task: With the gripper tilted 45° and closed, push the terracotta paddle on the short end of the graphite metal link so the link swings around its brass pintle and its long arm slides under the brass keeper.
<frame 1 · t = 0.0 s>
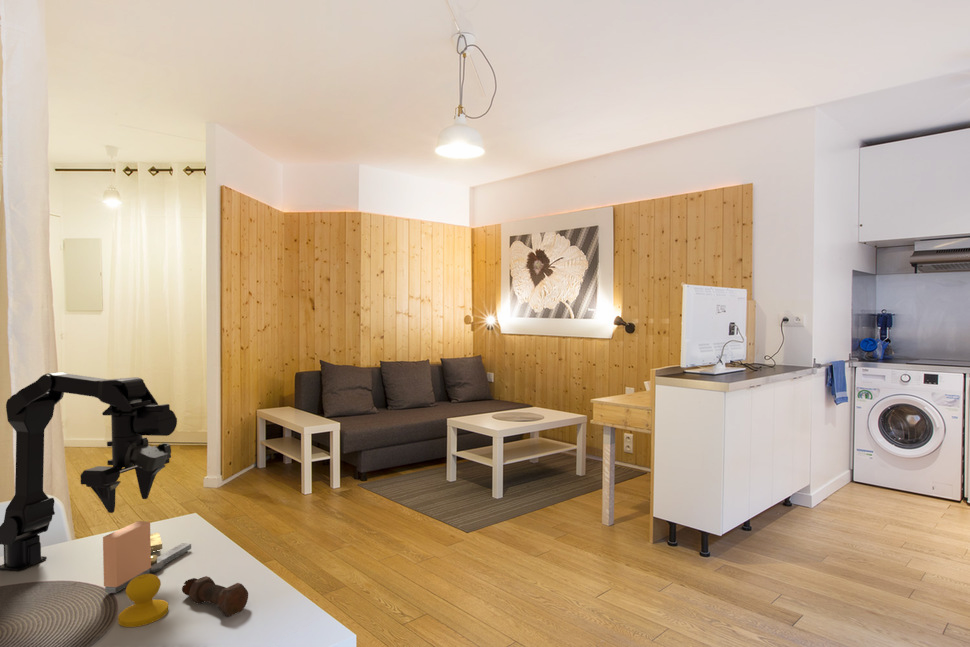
hand: (128, 505, 122), 15 cm above the table, tool pointing down, fingers open, 9 cm apart
bolt: (212, 605, 108), on the table
doorknob: (144, 616, 103), on the table
link: (151, 543, 122), point 6 cm above the table, hinge at 0.0°
keeper: (147, 551, 133), on the table
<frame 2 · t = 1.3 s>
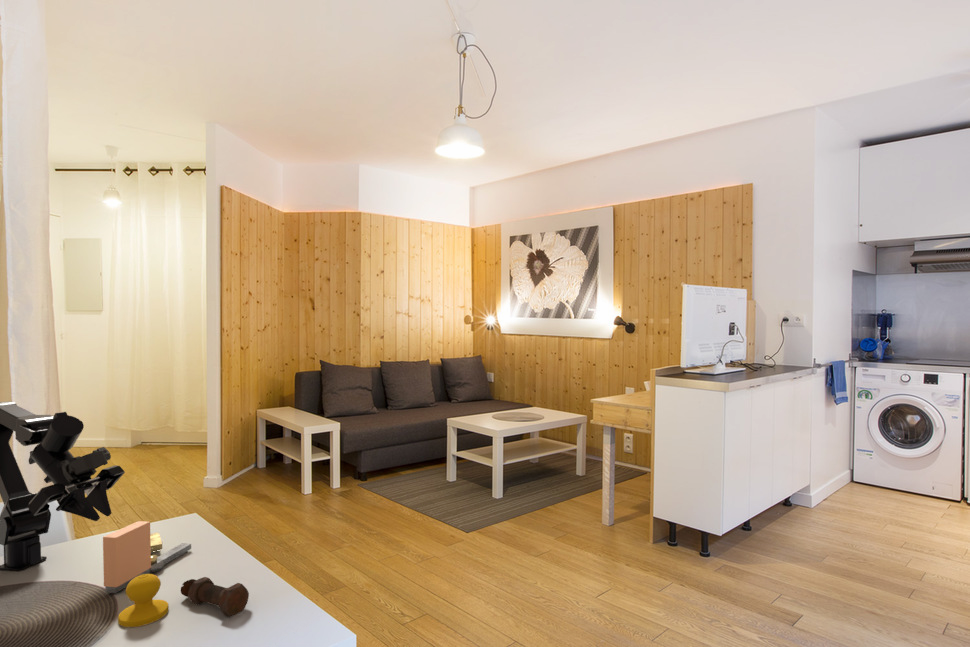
hand: (104, 517, 118), 14 cm above the table, tool tilted 45°, fingers open, 3 cm apart
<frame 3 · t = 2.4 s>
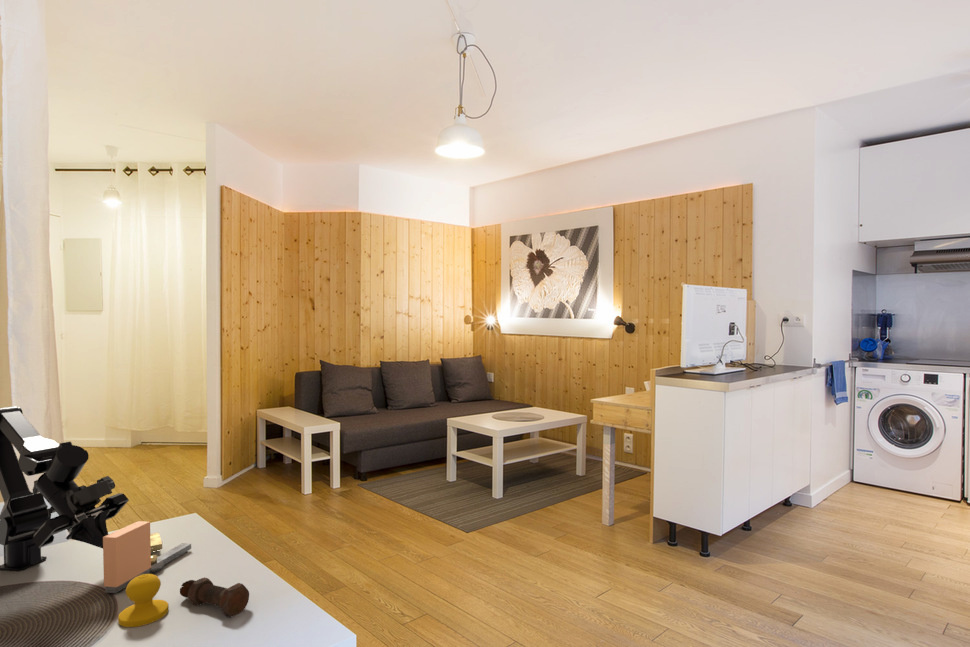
hand: (108, 547, 118), 7 cm above the table, tool tilted 45°, fingers closed
nothing on the table moved.
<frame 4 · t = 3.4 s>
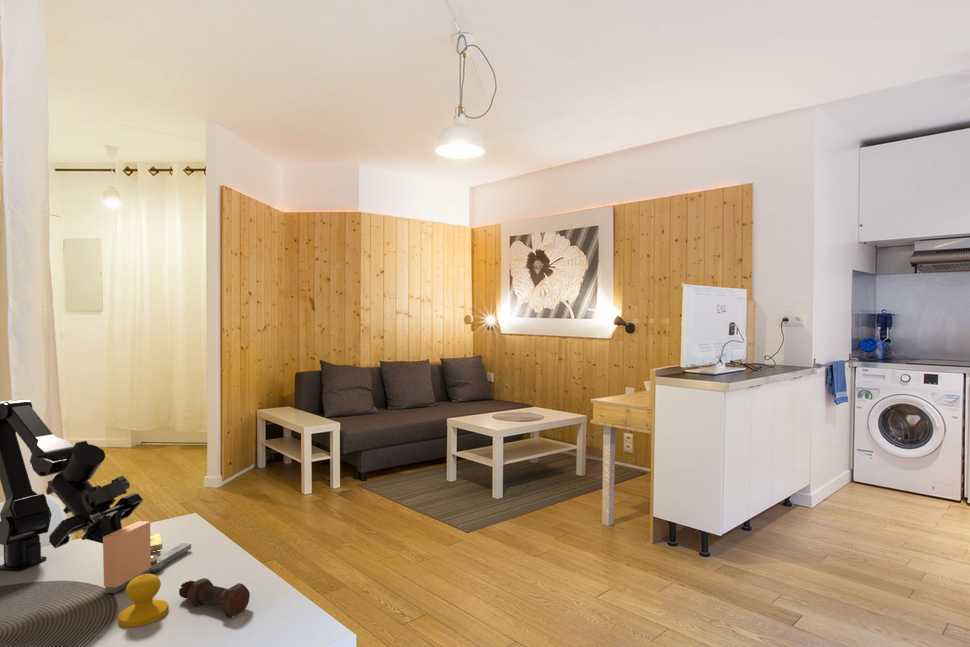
hand: (124, 547, 117), 7 cm above the table, tool tilted 45°, fingers closed, pressing on link
link: (151, 543, 122), point 6 cm above the table, hinge at 0.0°, touching gripper
everything else where it was.
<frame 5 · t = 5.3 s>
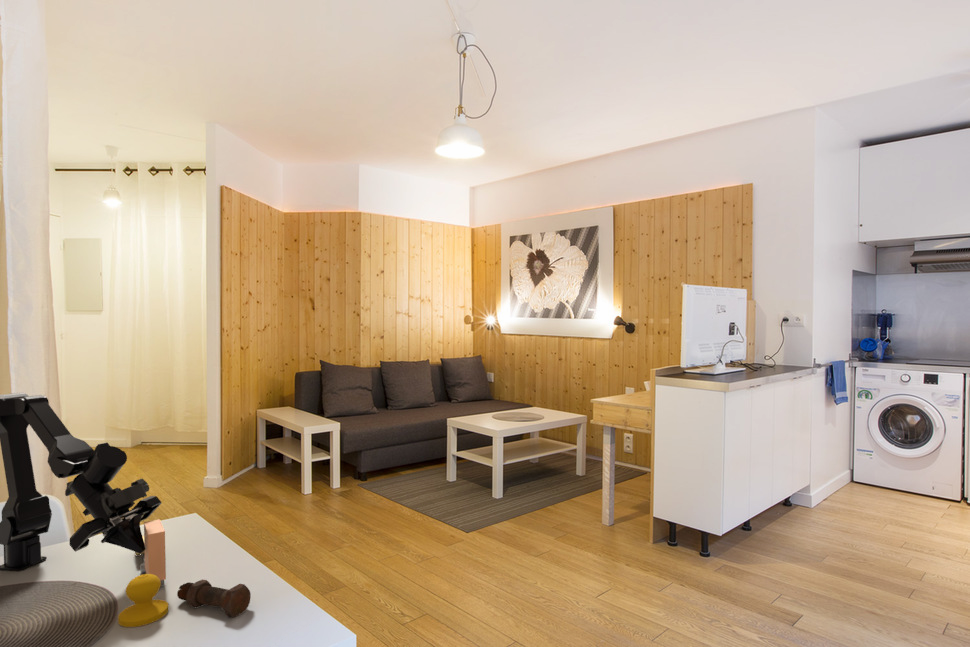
hand: (143, 551, 116), 7 cm above the table, tool tilted 45°, fingers closed
link: (151, 543, 122), point 6 cm above the table, hinge at 46.0°
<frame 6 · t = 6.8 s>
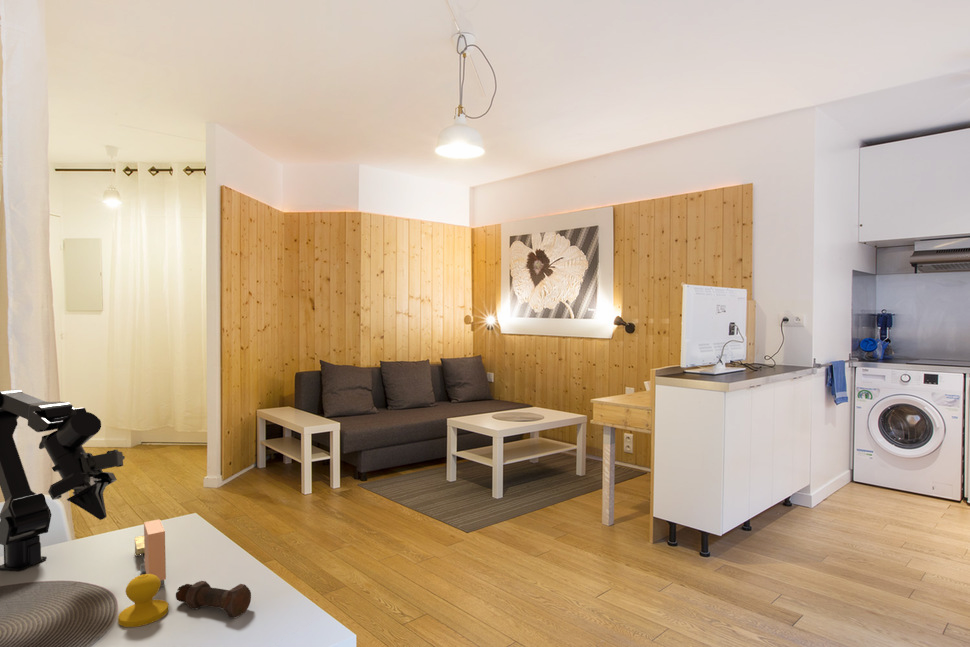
hand: (103, 518, 119), 13 cm above the table, tool tilted 30°, fingers closed
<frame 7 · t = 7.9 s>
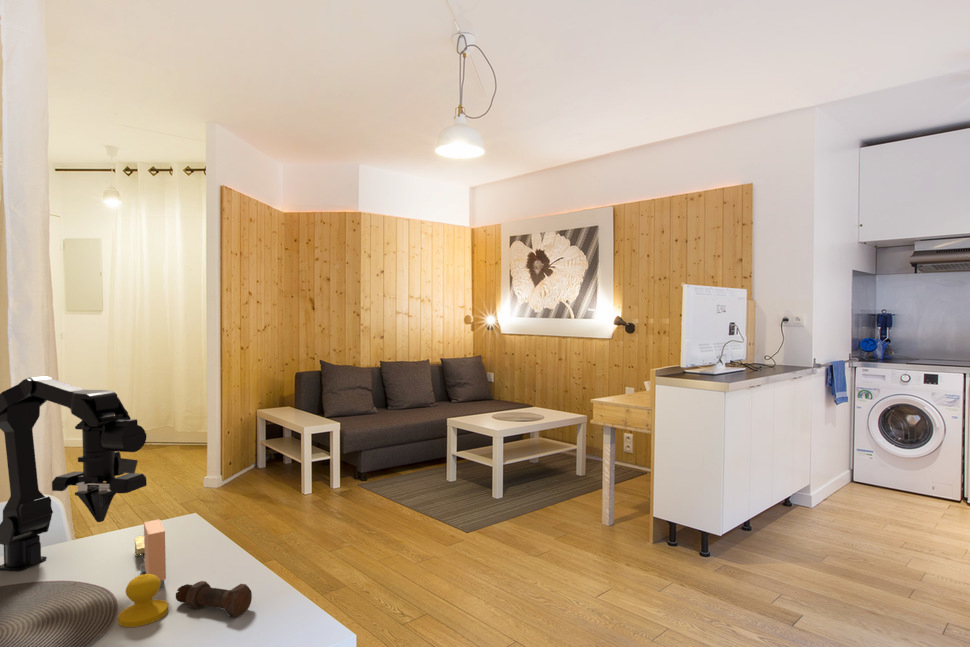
hand: (100, 521, 120), 12 cm above the table, tool pointing down, fingers closed
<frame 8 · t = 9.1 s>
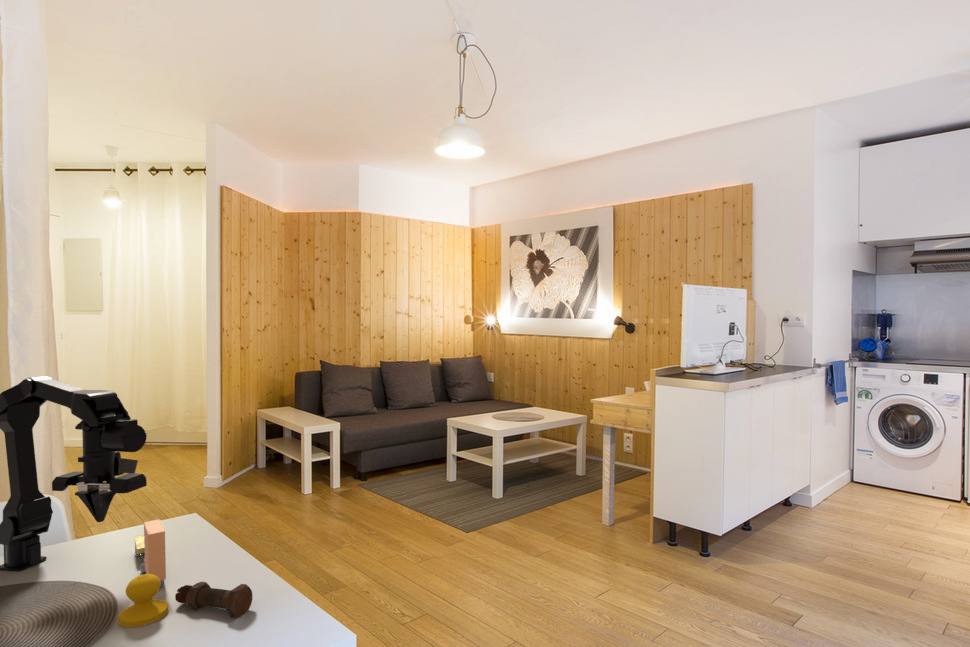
hand: (100, 521, 120), 12 cm above the table, tool pointing down, fingers closed
at the end: link at +46° (first picture: +0°); doorknob moved 0.3 cm from its start; bolt moved 2.2 cm from its start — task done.
